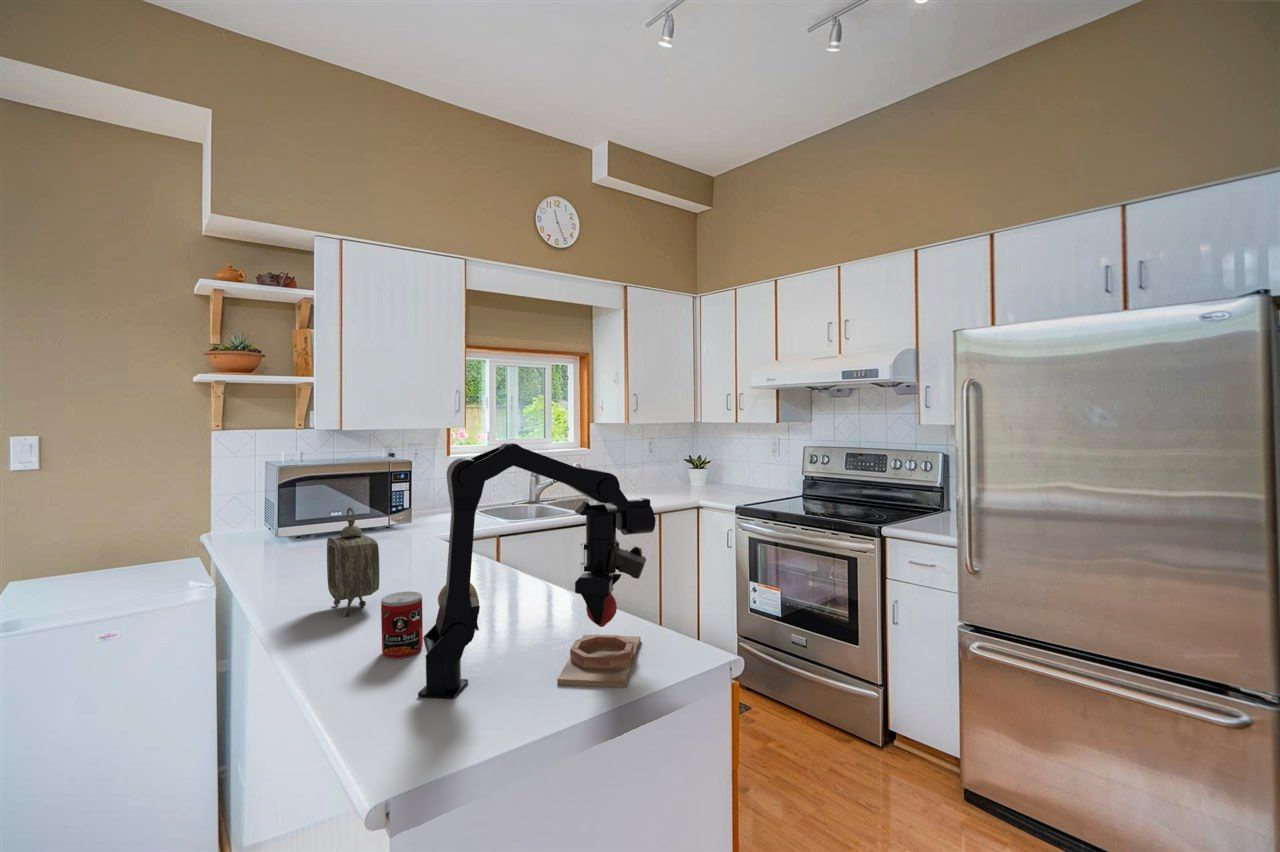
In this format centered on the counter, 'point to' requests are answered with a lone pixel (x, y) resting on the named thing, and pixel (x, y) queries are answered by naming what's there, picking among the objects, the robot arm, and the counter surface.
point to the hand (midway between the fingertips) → (601, 618)
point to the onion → (606, 611)
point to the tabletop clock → (352, 565)
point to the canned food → (401, 624)
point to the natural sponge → (472, 594)
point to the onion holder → (600, 661)
